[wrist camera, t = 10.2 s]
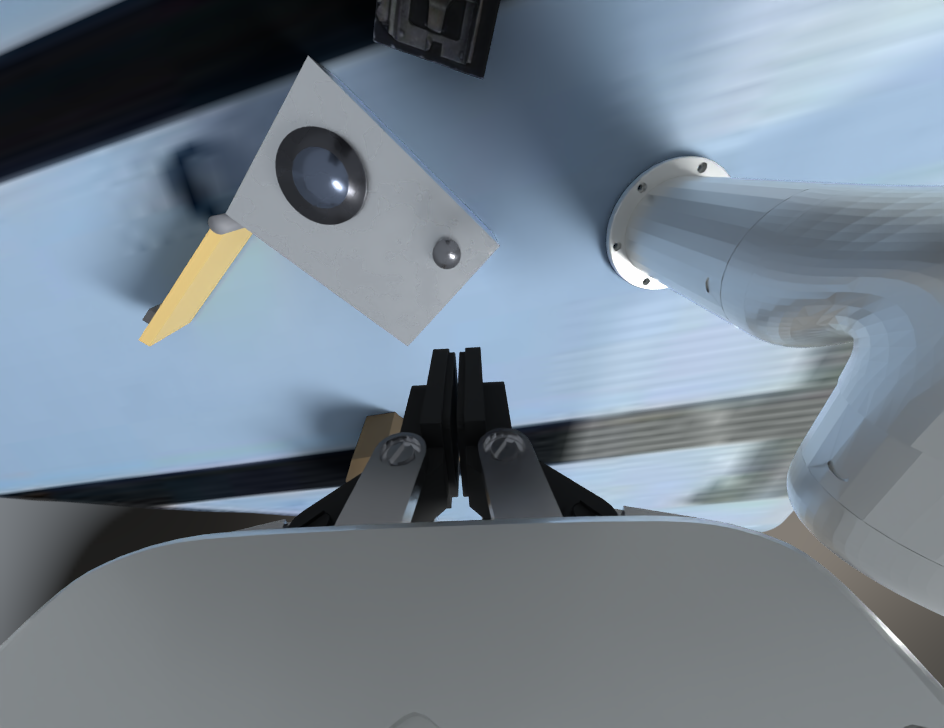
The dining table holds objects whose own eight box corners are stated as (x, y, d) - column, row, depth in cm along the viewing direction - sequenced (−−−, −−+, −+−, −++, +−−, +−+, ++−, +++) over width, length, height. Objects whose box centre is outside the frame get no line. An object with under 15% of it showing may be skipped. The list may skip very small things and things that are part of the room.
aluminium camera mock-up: (492, 232, 34) (501, 248, 28) (413, 321, 39) (405, 352, 33) (337, 77, 28) (301, 50, 21) (264, 206, 32) (216, 217, 26)
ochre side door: (193, 322, 38) (147, 350, 32) (171, 308, 37) (119, 334, 31) (269, 214, 33) (230, 225, 27) (245, 194, 32) (200, 201, 26)
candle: (436, 490, 54) (430, 591, 42) (350, 472, 52) (316, 575, 39) (465, 429, 48) (468, 527, 35) (369, 405, 45) (335, 501, 32)
